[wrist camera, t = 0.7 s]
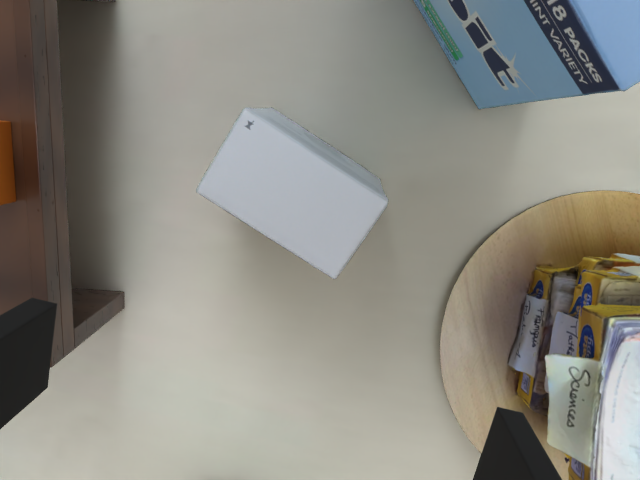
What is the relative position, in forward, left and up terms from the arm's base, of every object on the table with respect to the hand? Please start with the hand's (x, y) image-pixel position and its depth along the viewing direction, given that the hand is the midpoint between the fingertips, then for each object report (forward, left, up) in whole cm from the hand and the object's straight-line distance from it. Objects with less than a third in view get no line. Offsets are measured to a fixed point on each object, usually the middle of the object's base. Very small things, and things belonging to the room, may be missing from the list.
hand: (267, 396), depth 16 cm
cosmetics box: (-3, -1, -29) cm, 29 cm away
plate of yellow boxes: (+9, +23, -29) cm, 37 cm away
